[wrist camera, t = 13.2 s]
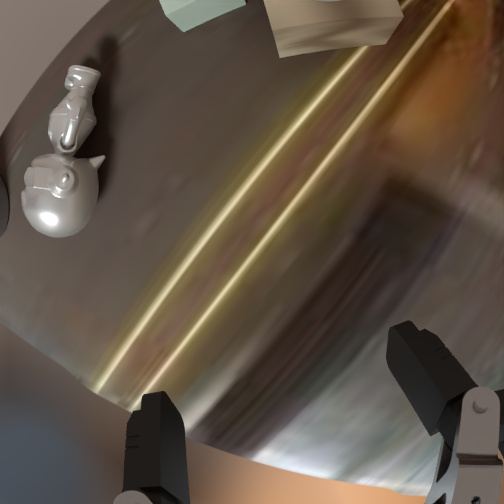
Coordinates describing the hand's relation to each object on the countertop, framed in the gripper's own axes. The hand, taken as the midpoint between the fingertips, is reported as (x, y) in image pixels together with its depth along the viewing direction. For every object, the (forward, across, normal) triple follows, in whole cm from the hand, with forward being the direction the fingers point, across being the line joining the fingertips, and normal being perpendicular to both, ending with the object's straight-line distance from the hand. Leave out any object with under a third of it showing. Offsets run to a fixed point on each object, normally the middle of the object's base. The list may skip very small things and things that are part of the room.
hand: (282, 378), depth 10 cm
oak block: (+20, -11, -15) cm, 27 cm away
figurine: (+24, +12, -7) cm, 28 cm away
